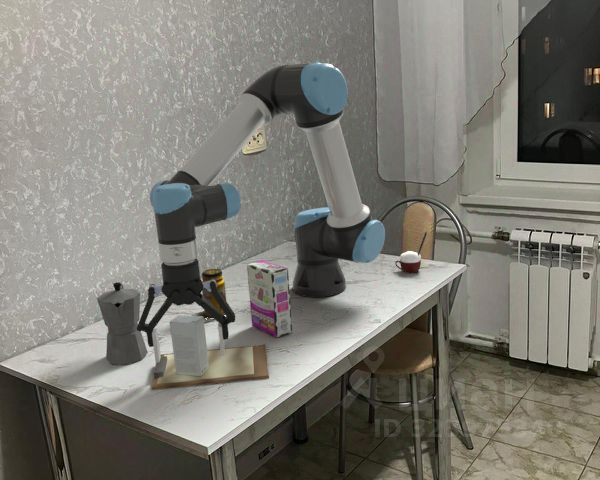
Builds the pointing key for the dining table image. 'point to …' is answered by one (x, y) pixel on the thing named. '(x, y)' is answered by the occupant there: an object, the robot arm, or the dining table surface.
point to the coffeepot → (122, 325)
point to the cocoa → (411, 260)
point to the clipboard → (215, 368)
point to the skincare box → (189, 345)
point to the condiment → (207, 276)
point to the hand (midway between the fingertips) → (190, 356)
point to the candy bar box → (270, 298)
